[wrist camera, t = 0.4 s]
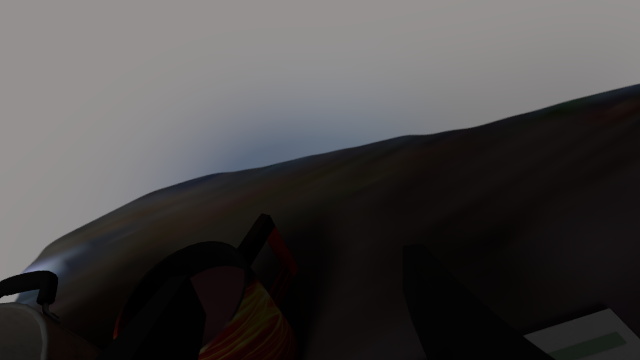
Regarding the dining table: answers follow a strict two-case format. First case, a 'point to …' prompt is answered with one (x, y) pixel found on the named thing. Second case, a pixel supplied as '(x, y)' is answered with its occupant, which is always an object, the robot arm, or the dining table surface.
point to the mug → (229, 296)
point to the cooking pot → (37, 324)
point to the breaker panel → (589, 339)
